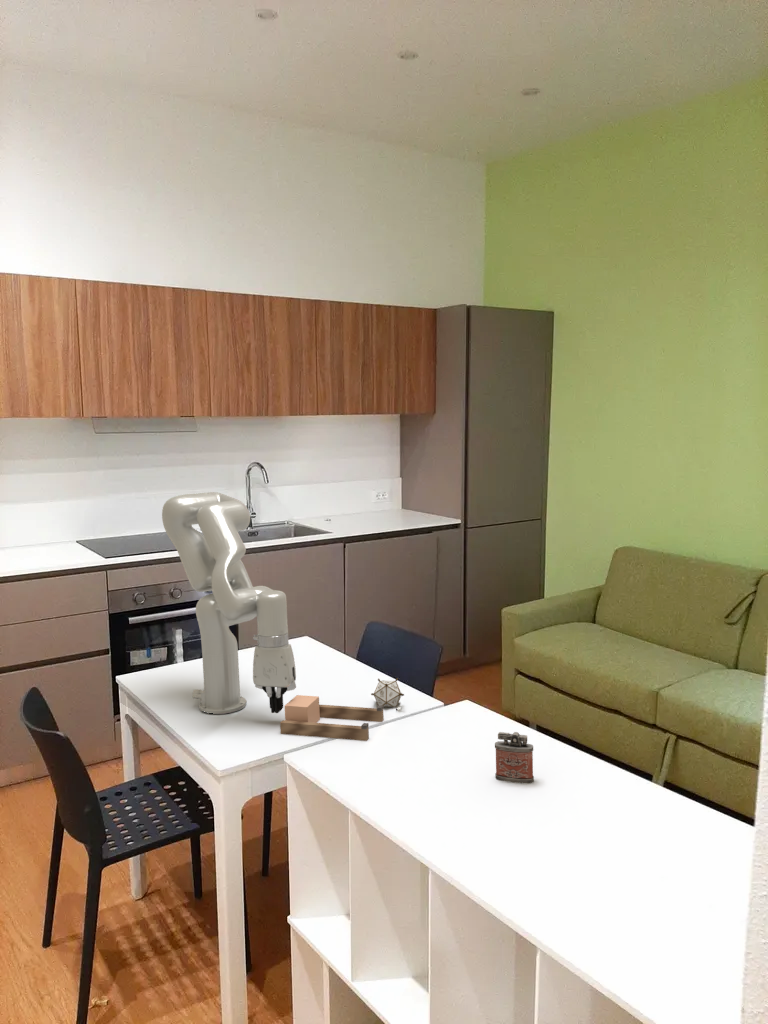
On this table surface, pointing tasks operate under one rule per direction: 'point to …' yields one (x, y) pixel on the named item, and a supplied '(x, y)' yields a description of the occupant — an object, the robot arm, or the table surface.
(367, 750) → the table surface
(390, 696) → the game die
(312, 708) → the block
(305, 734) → the chute
